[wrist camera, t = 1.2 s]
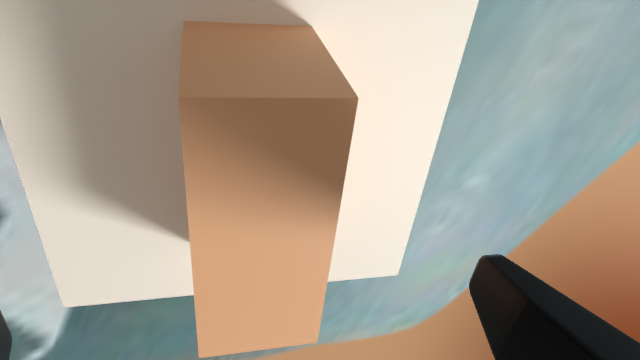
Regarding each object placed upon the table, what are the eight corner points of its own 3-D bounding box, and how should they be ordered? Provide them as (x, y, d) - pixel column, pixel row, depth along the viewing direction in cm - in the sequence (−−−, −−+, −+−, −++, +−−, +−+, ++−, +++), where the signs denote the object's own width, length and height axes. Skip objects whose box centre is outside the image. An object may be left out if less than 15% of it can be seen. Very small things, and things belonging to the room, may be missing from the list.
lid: (77, 258, 16) (27, 434, 11) (-31, -128, 10) (-263, -104, 5) (379, 236, 19) (442, 369, 14) (455, -77, 12) (624, -28, 8)
